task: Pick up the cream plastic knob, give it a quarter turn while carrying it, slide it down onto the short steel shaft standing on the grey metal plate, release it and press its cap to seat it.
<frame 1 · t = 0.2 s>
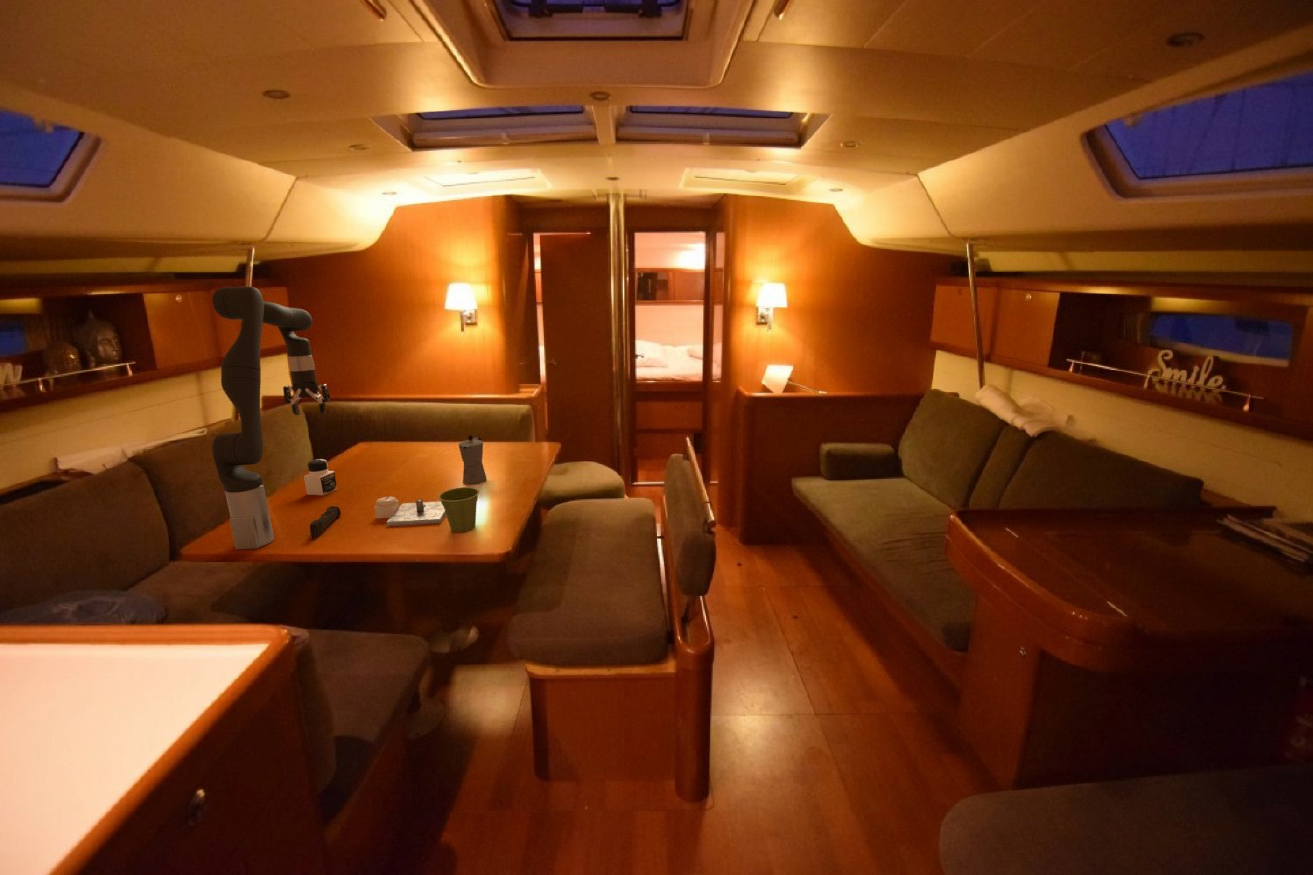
hand: (310, 414, 209), 29 cm above the table, tool pointing down, fingers open, 8 cm apart
hand tool: (326, 528, 184), on the table
plant pot: (462, 528, 181), on the table
knob: (388, 514, 193), on the table
coffeepot: (476, 480, 226), on the table
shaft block: (421, 515, 192), on the table
medicine bottle: (322, 492, 216), on the table
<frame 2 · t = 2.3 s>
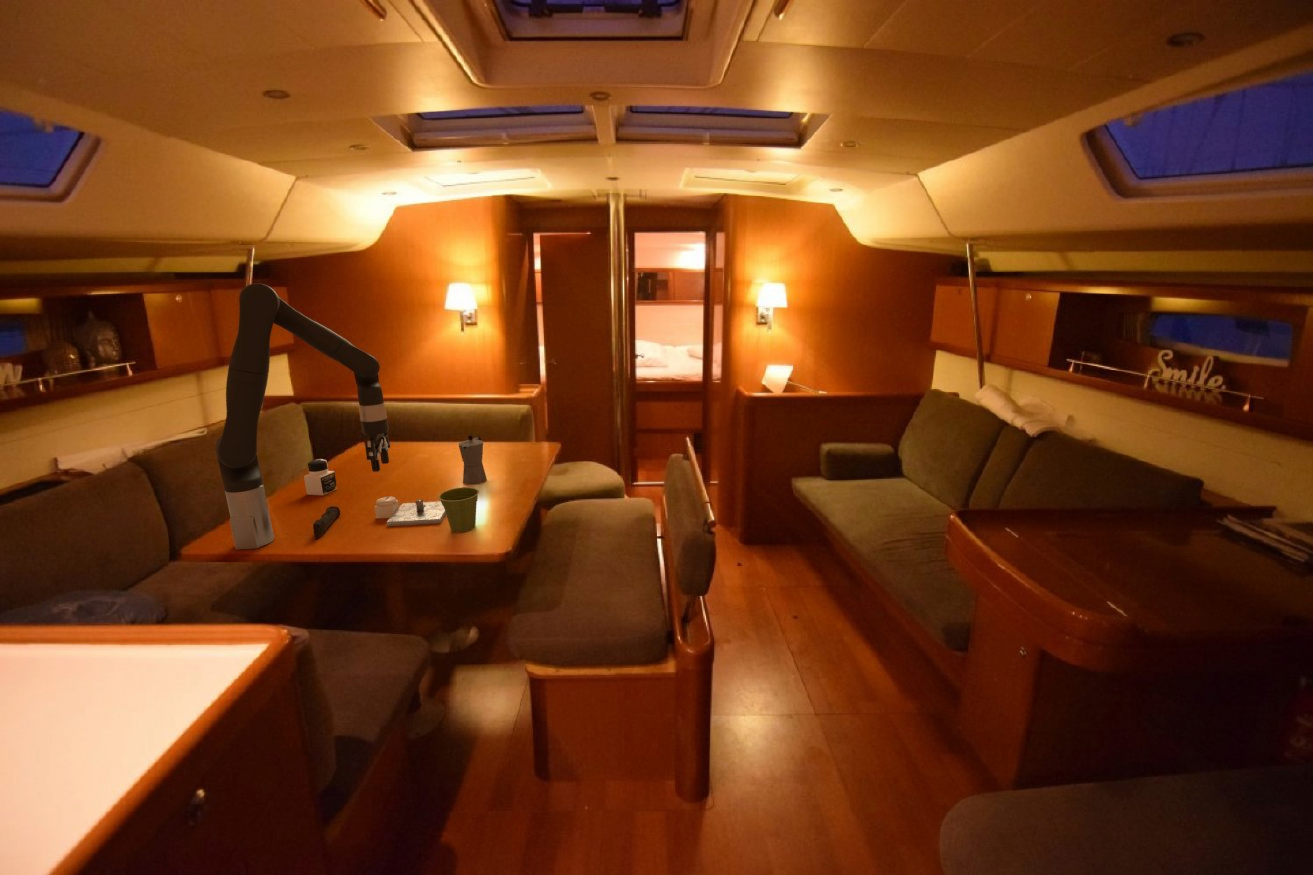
hand: (381, 467, 189), 16 cm above the table, tool pointing down, fingers open, 8 cm apart
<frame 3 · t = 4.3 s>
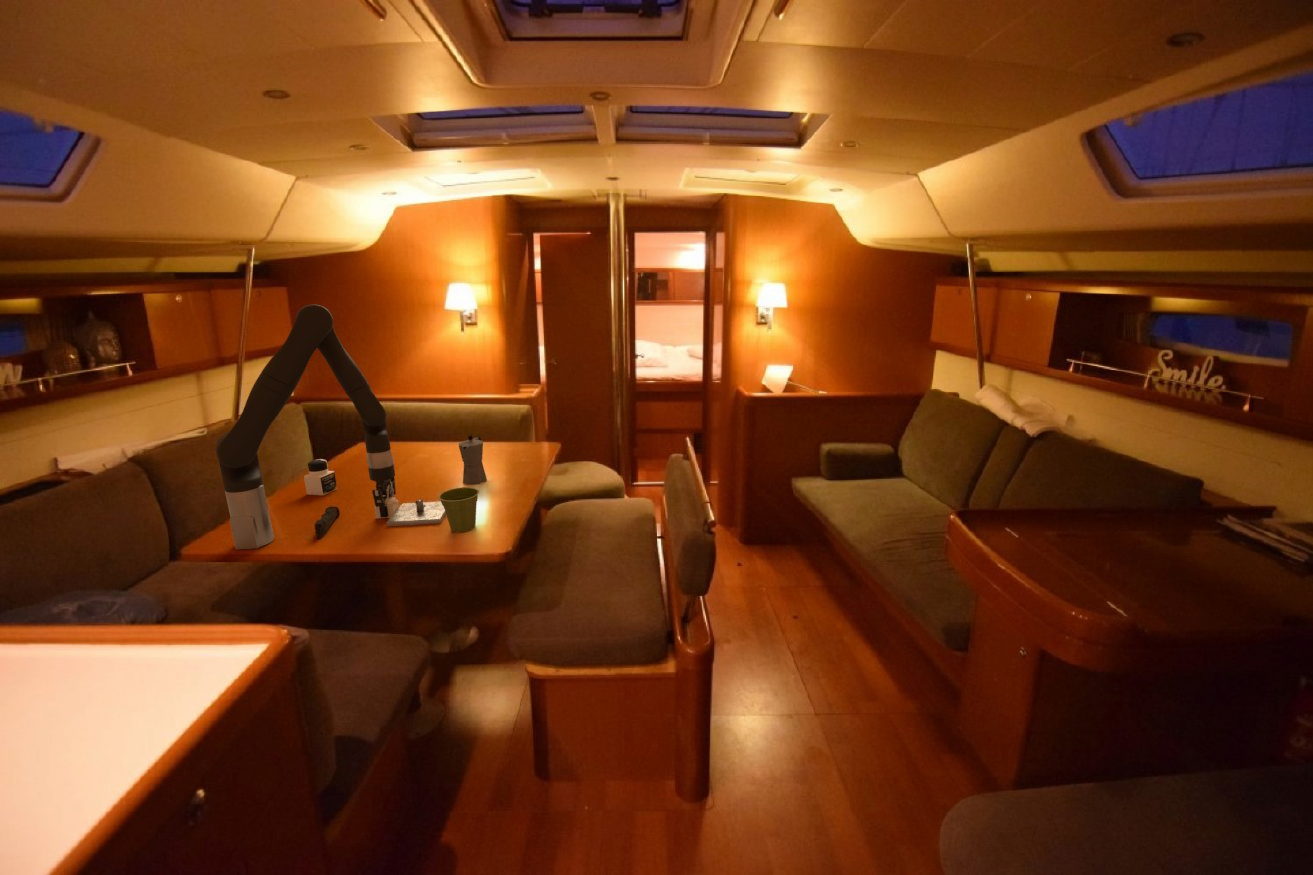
hand: (387, 513, 193), 1 cm above the table, tool pointing down, fingers closed on knob, 5 cm apart
knob: (388, 514, 193), on the table, touching gripper
everything else where it was.
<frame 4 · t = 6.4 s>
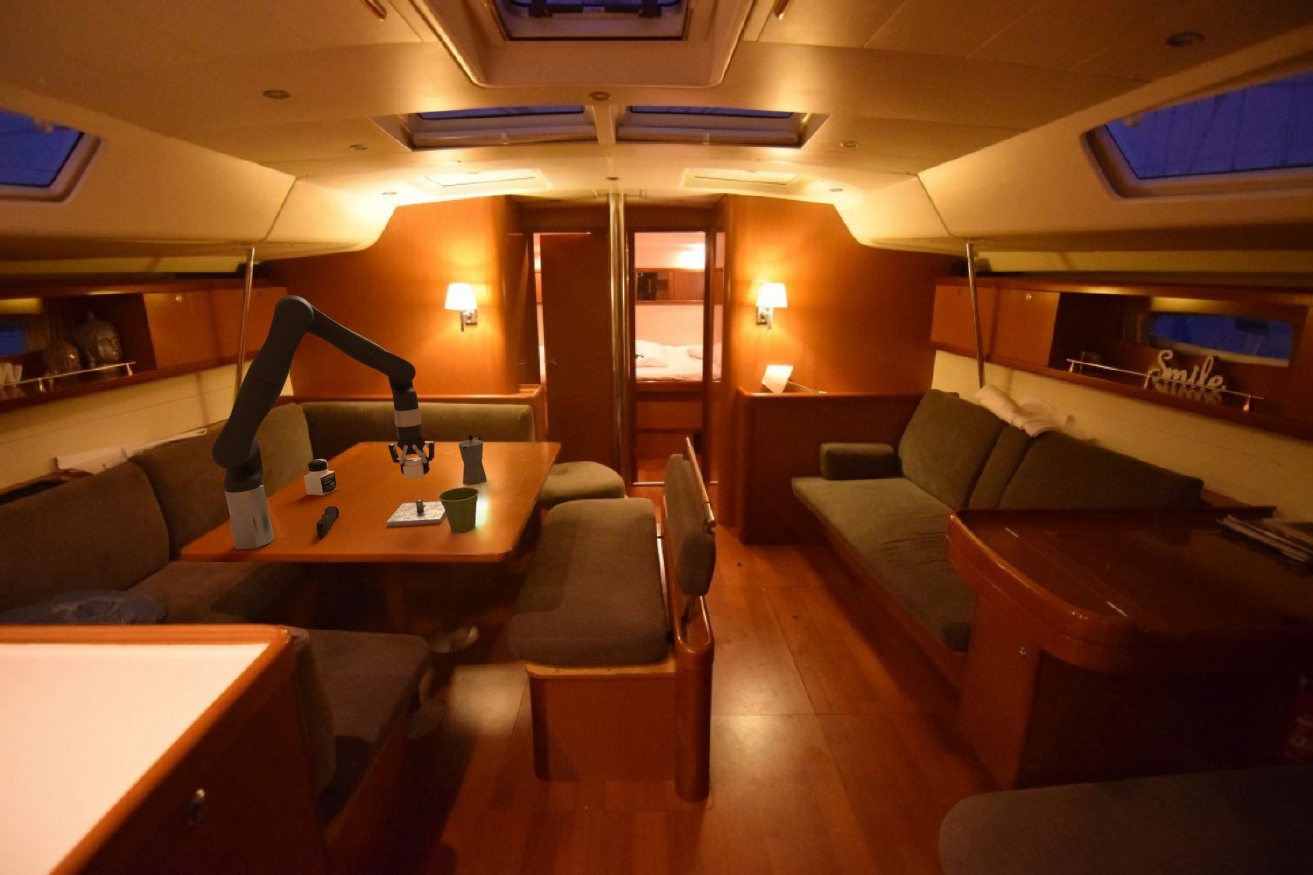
hand: (415, 473, 189), 14 cm above the table, tool pointing down, fingers closed on knob, 5 cm apart
knob: (416, 475, 189), point 13 cm above the table, touching gripper
when the fingers open (3 cm above the table, at t = 8.8 s): knob stays where it is, resting on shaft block.
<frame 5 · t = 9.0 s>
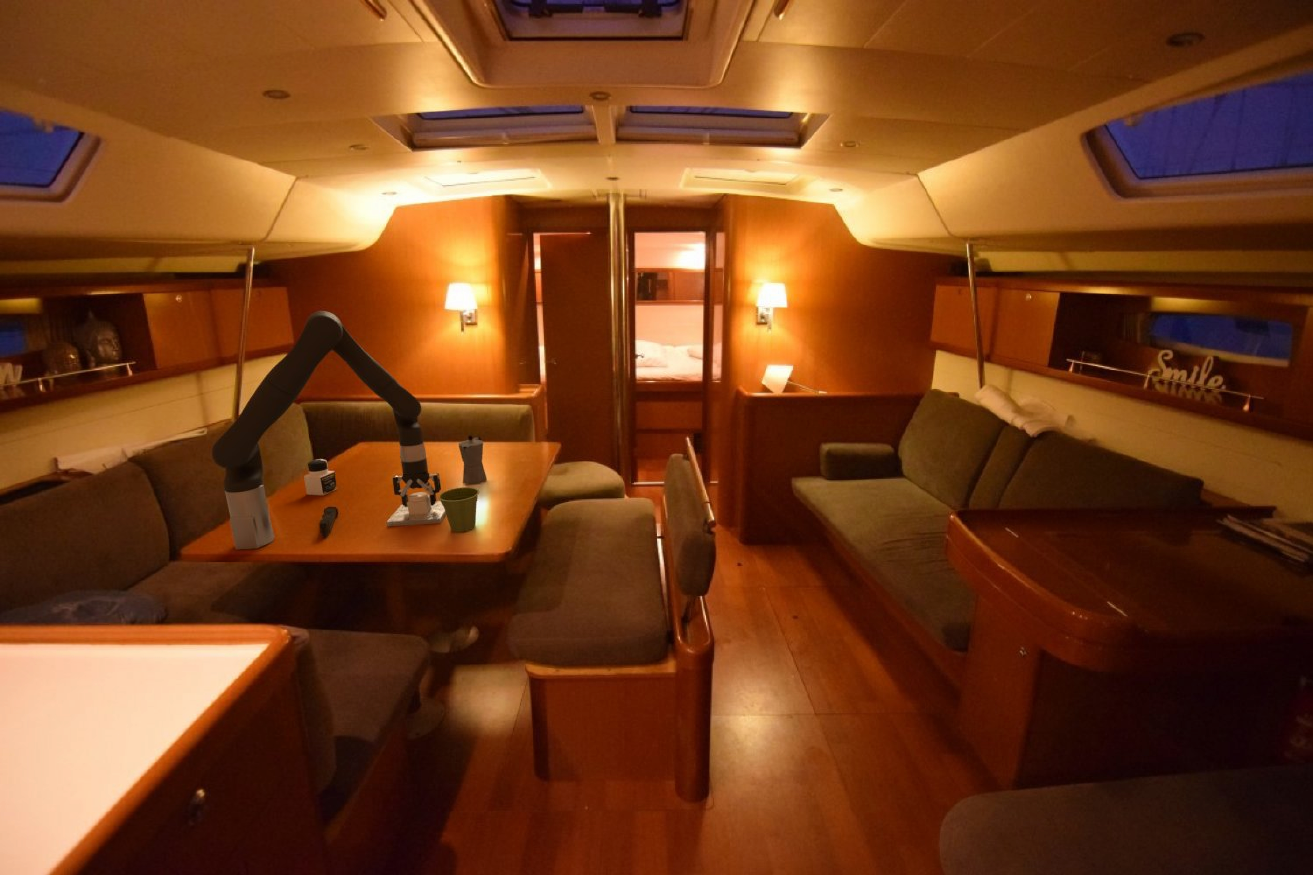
hand: (419, 505, 191), 3 cm above the table, tool pointing down, fingers open, 8 cm apart
knob: (420, 510, 192), point 2 cm above the table, touching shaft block
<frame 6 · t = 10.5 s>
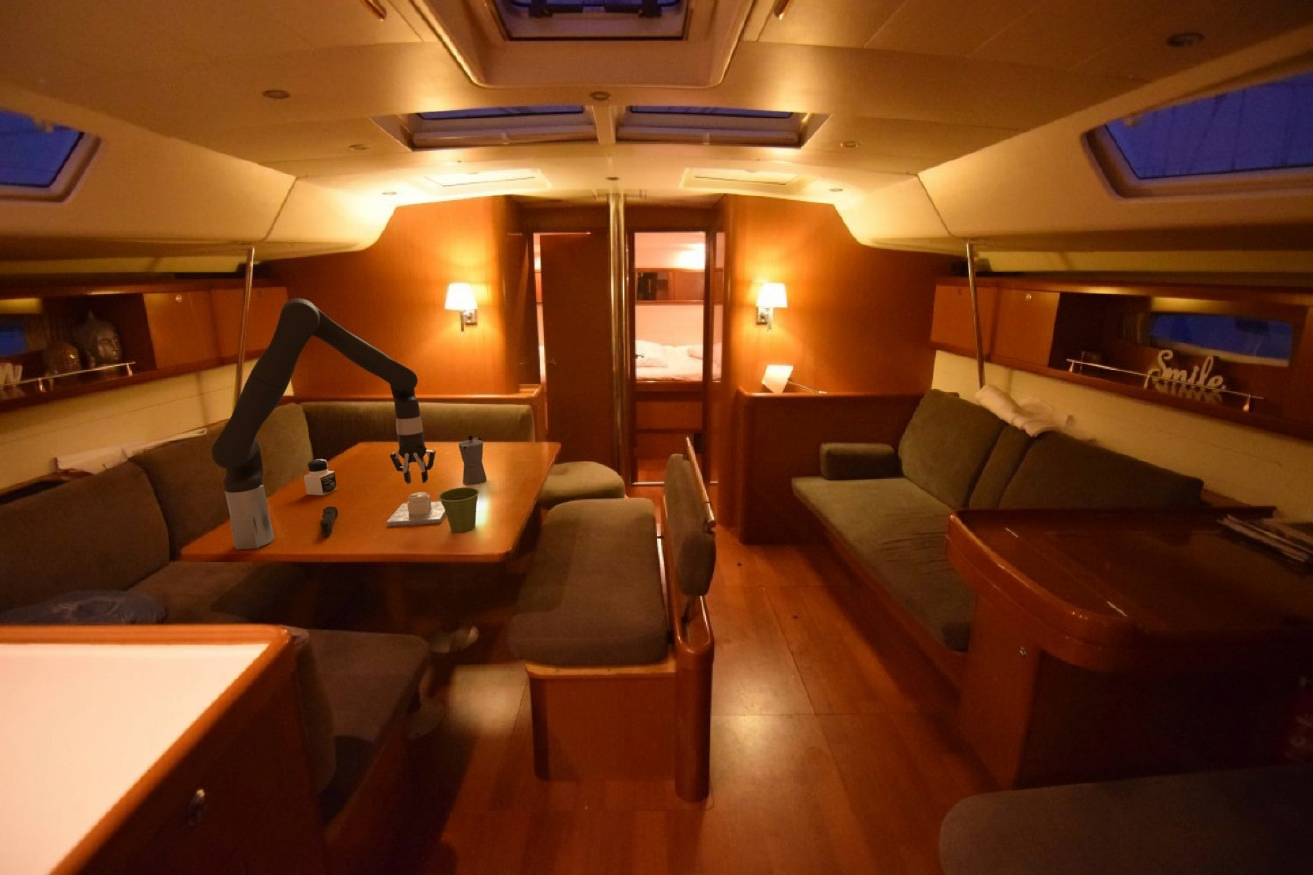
hand: (416, 482, 189), 11 cm above the table, tool pointing down, fingers open, 4 cm apart
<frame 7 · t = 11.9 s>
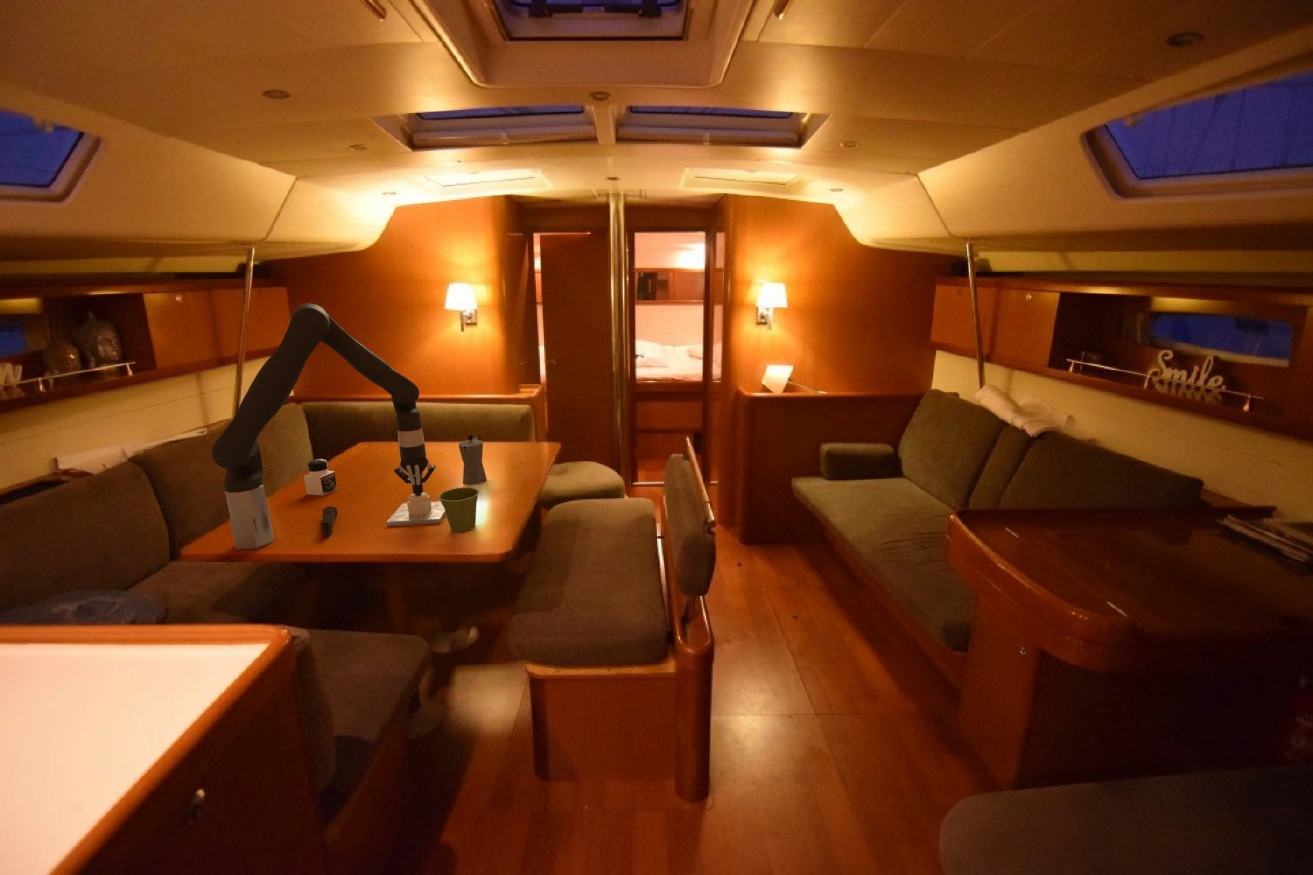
hand: (418, 494, 190), 7 cm above the table, tool pointing down, fingers closed
knob: (420, 510, 192), point 2 cm above the table, touching gripper, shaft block
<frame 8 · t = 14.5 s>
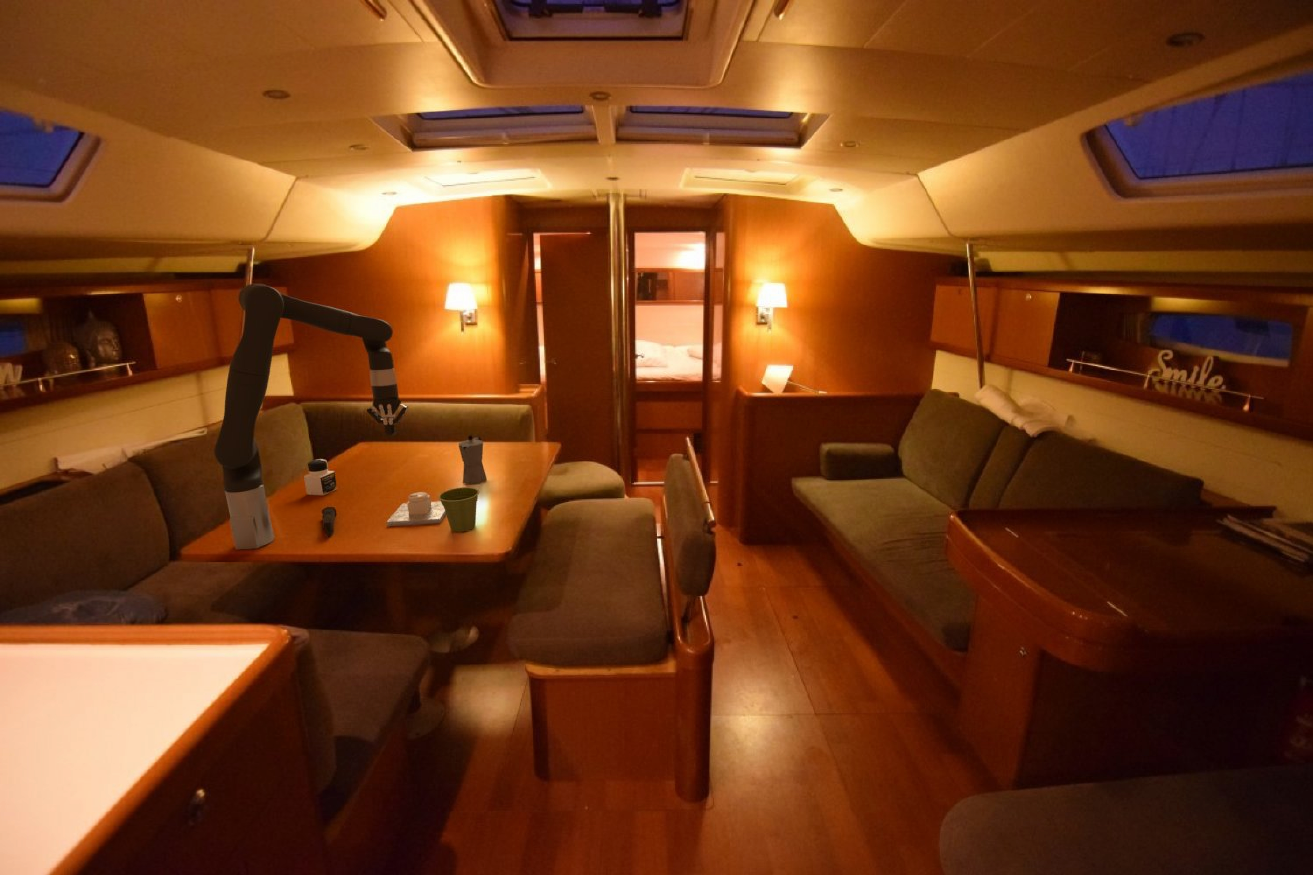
hand: (391, 435, 194), 25 cm above the table, tool pointing down, fingers closed
knob: (420, 510, 192), point 2 cm above the table, touching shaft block
at the end: knob 0.0 cm from the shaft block (horizontally); knob point 1.6 cm above the table; knob tilted 2° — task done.
